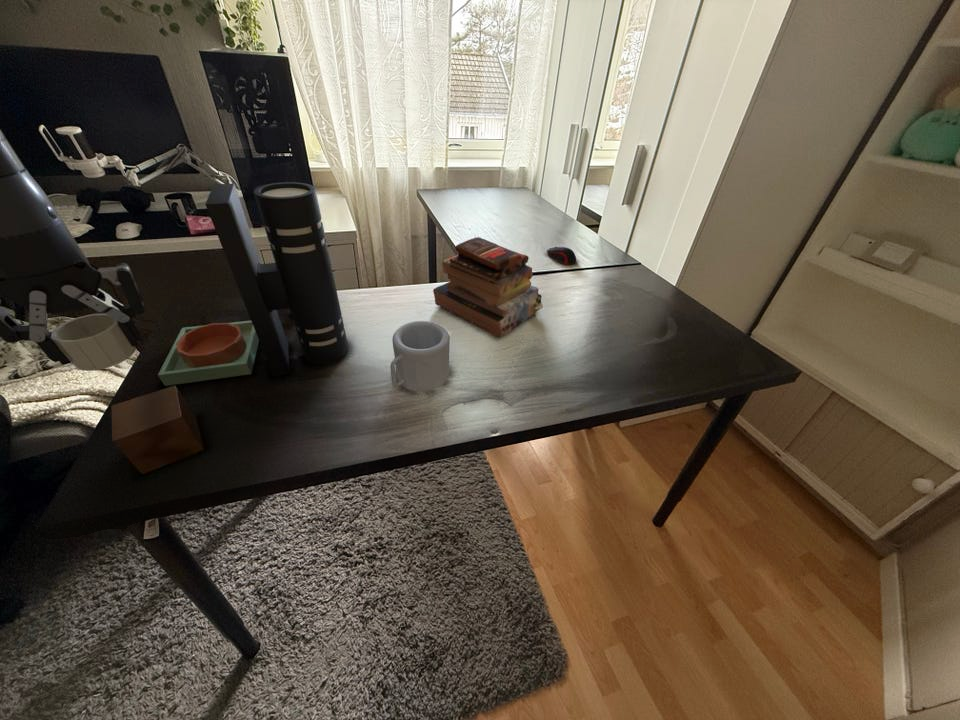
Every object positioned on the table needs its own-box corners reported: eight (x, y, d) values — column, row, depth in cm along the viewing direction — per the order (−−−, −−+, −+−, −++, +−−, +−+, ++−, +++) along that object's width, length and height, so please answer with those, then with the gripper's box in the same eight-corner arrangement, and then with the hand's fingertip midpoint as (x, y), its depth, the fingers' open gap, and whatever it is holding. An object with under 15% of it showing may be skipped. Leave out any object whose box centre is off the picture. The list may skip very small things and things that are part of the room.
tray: (251, 374, 74) (246, 363, 72) (164, 386, 70) (157, 375, 68) (261, 330, 85) (257, 319, 84) (187, 338, 82) (181, 327, 80)
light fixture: (351, 362, 79) (317, 198, 58) (273, 377, 74) (205, 204, 53) (345, 334, 86) (313, 179, 65) (273, 346, 81) (213, 183, 60)
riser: (142, 474, 56) (111, 441, 51) (139, 439, 61) (111, 405, 56) (204, 449, 60) (181, 416, 55) (196, 418, 65) (175, 385, 60)
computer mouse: (557, 250, 131) (559, 239, 128) (579, 262, 124) (582, 251, 121) (543, 253, 128) (545, 242, 126) (565, 266, 121) (568, 254, 119)
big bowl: (188, 377, 71) (180, 362, 69) (181, 347, 78) (173, 333, 76) (252, 357, 77) (246, 343, 74) (240, 331, 83) (234, 317, 81)
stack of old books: (543, 314, 98) (555, 252, 87) (502, 344, 86) (510, 277, 76) (476, 284, 108) (480, 225, 97) (432, 307, 97) (430, 243, 86)
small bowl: (73, 377, 45) (48, 347, 43) (75, 351, 49) (53, 322, 46) (137, 359, 49) (118, 331, 46) (134, 336, 52) (117, 308, 49)
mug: (421, 351, 83) (419, 313, 76) (460, 372, 78) (461, 333, 72) (374, 384, 74) (368, 344, 67) (415, 409, 69) (412, 368, 63)
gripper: (101, 202, 44) (167, 322, 54) (-91, 221, 37) (28, 355, 47) (101, 221, 39) (173, 348, 50) (-118, 248, 32) (21, 389, 43)
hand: (102, 351), depth 48 cm, fingers closed on small bowl, 6 cm apart
